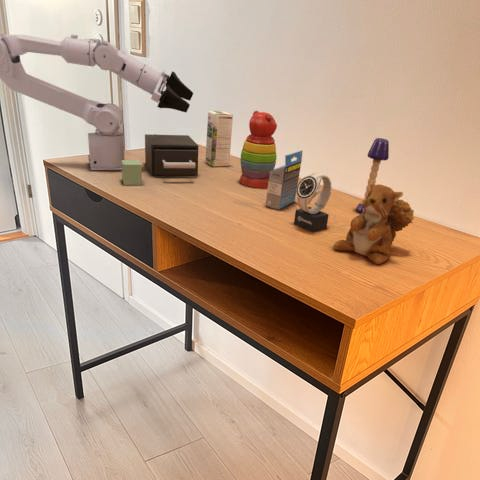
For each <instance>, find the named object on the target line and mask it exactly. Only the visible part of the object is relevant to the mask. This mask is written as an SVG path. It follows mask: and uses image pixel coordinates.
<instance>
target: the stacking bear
mask: <svg viewBox="0 0 480 480" xmlns="http://www.w3.org/2000/svg"><path fill="white" fill-rule="evenodd" d="M248 127H249V132H250V134H248V135H247V137H246V138H245V140H244V141H243V145H242V149H241V153H240V169H241V175H240V177H239V183H240V184H241V185H244V186H246V187H250V188H261V189H263V188H264V189H268V183H269V175H270V171H271V170H274V169H276V163H277V146H276V143H275V141H276V140H275V138H274V137H273V135H274V134H275V132H276V131H277V128H278V123H277V122H276V120H275V118H274V117H273V115H272V114H271V113H269V112H265V111H258V110H254V111H253V113H252V116H251V117H250V119H249V123H248Z"/></svg>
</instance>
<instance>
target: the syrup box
mask: <svg viewBox="0 0 480 480" xmlns="http://www.w3.org/2000/svg"><path fill="white" fill-rule="evenodd" d="M233 119H234V114H231V113H229V112H227V111H224V110H208V111H207V124H206V125H207V126H206V141H205V142H206V144H205V163H207V164H208V165H209V166H211V167H230V160H231V147H232V146H231V145H232V134H233V133H232V132H233V121H234V120H233Z"/></svg>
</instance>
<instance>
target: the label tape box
mask: <svg viewBox="0 0 480 480" xmlns="http://www.w3.org/2000/svg"><path fill="white" fill-rule="evenodd" d="M294 158H296V159H295V160H292V159H294ZM302 159H303V150H298V151H296V152H292V153H289V154H285V155H284V165H282V166H279V167H275V168H274V170H271V171H270V175H269V183H268V188H267V191H266V199H265V207H268V208H271V209H274V210H281V209H283V208H285V207H286V206H288V205H290V204H292V203H294V202H295V201H296V198H297V192H296V189H297V185H298V184H299V180H300V179H299V178H300V172H301V168H302V167H301V166H302V161H303V160H302Z"/></svg>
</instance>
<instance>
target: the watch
mask: <svg viewBox="0 0 480 480" xmlns="http://www.w3.org/2000/svg"><path fill="white" fill-rule="evenodd" d="M321 183H322V189H321V190H320V185H321ZM331 194H332V180H331V179H330V177H329V176H328V175H325V174H323V173H322V174H321V173H318V172H314V173H310V174H308V175H307V176H305V177H302V179H301V180H300V181H298V185H297V189H296V200H297V203H298V207H299V208H298V209H295V212H294V221H293V225H296V226H298V227H300V228H303V229H304V230H307V231H310V232H312V233H314V232H318V231H322V230H325V229H327V227H328V221H329V215H330V214H329V213H327V212H324V211H322V210H324V209H325V207H326V205H327V204H328V201H329V199H330V198H331ZM317 195H318V197H317ZM316 197H317V199H316V201H314V205H313V206H312V207H311V206H308V205H310V203H311V202H312V200H313V199H314V198H316Z"/></svg>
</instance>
